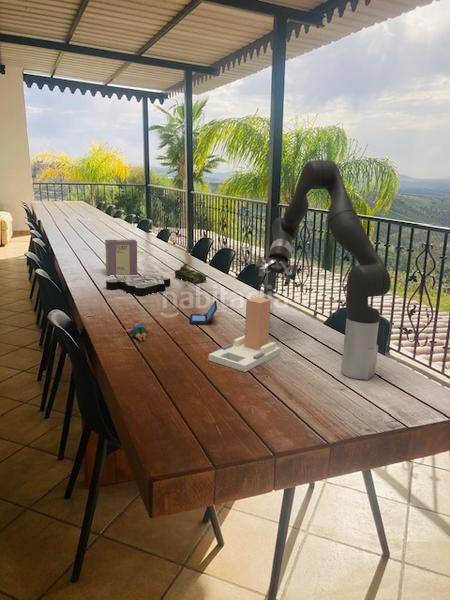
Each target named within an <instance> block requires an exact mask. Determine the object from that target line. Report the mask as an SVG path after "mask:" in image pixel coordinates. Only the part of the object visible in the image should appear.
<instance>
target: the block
mask: <svg viewBox="0 0 450 600" xmlns="http://www.w3.org/2000/svg"><path fill="white" fill-rule="evenodd" d="M271 304H272V302H271V299H268V298H263V297H258V296H255V297H252V298H249V299H246V305H245V306H246V307H245V325H244V335H245V340H244V347H247V348H251V349H254V350H260V347H262V346H264V345H266V344H268V343H269V332H270V330H269V329H270V316H271V315H270V314H271Z"/></svg>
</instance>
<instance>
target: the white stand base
mask: <svg viewBox="0 0 450 600" xmlns="http://www.w3.org/2000/svg"><path fill="white" fill-rule="evenodd" d="M244 340H245V334H244V335H242V336H240V337H237V338H235V339H233V343H228V344H226V345H222V346H221V349H217V350H216V351H213V352H210V353H209V354H208V361H210V362H213V363H215V364H220V365H222V366H226V367H228V368H230V369H234V370H237V371H241V372H244V373H246V372H248V371H250V370H252V369H253V368H255V367H257V366H259V365H261V364H263V363H265V362H268V361H269V360H271V359H273V358H274V357H277V356H278V355H280V354H281V351H282V347H280V346H276V344H277V343H276V342H274V341H271V342H268V344H266V345H264V346H262V347H260V350H254V349H251V348H247V347H244Z"/></svg>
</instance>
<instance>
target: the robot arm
mask: <svg viewBox="0 0 450 600" xmlns="http://www.w3.org/2000/svg"><path fill="white" fill-rule="evenodd" d="M294 190H295V191H294V193H293V196H292V199H291V201H290V202H289V204H288V206H287V208H286V209H285V211H284V213H283V217H280V216H279V217H277V218H275V220H274V221H273V223H272V226H271V234H272V238H273V240H272V244H271V246H270V248H269V253H268V255H267V259H263V257H262V256H259V257H258V259H257V261H256V263H255V267H254V272H255V273H258V276H257V278H258V280H259V281H260V282H262V281H263V277H264V274H268V273H270V272H271V273H276V274H279V275H281V276H282V277H283V278H285V281H284V285H283V286H284V287H287V286H288V285H289V284H290V280H292V281H295V280H296V276H297V267H298V265H297V264H295V263H294V264H293V265H290V264H289V261H290V257H291V251H292V249H291V248H292V244H293V240H295V239H296V238H297V237H298V236H299V233H300V225H301V222H302V221H303V219H304V218H305V217H306V215H307V213H308V210H309V204H310V203H309V199H308V196H307V195H308V193H309V192H310V191H311V190H325V191H327V192H328V194H329V197H330V205H329V208H328V211H327V216H326V221H327V226H328V227H329V231H330V233H331V234H332V237H333V239H334V240H335V241H336V243H337V244H339V245H340V246H341V248H343V249H344V250H345V251H346V252H348V253H349V254H350V255H351V256H352V257H354V258H355V260H356V261H357V263H358V265H354V266H353V267H352V268H351V269H350V270H349V272H348V275H347V277H346V280H347V281H346V294H345V295H346V296H345V309H346V321H345V331H344V339H343V349H342V356H341V357H342V358H341V367H340V368H341V369H340V373H341V374H342V375H343V376H346V377H348V378H351V379H356V380H365V381H369V380H370V379H371V378H372V377H374V376H375V375H376V366H377V359H378V351H379V344H377V341H378V333H379V332H378V331H379V325H380V317H381V316H380V315H381V313H380V312H381V311H379V310H378V309H377V308H374V307H371V306H369V298H370V297H371V298H373V297H374V298H375V297H382V296H385V295H386V294H388V293H389V291H390V289H391V284H392V283H391V282H392V281H391V276H390V272H389V271H388V269H387V267H386V265H385V263H384V262H383V261H382V259H381V257H380V255H379V254H378V253H377V250H376V249H375V248H374V246H373V244H372V242H371V240H370V238H369V236H368V234H367V232H366V230H365V229H364V226H363V223H362V221H361V220H360V219H361V218H359V215H358V213H357V211H356V209H355V207H354V205H353V203H352V201H351V199H350V197H349V194H348V192H347V190H346V187H345V183H344V181H343V177H342V174H341V172H340V170H339V167H338V165H337V164H336V163H335V162H334V161H332V160H327V159H325V160H323V159H322V160H318V159H317V160H310V161H307V162H306V163H305V164H304V166H303V168H302V169H301V172H300V175H299V177H298V181H297V183H296V187H295V189H294ZM289 270H290V271H289Z"/></svg>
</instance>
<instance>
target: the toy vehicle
mask: <svg viewBox="0 0 450 600" xmlns="http://www.w3.org/2000/svg"><path fill="white" fill-rule="evenodd" d="M188 264H190V262H188V263H185V264H183V265H182V266H180V268H179V269H175V271H174V277H175V278H176V279H177V278H178V279H177V280H181V279H182V280H181V281H185V282H186V281H188V282H187V283H190V282H191V284H192V283H201V282H207V277H208V276H207V275H204V274H203V273H202V272H199V271H196V270H195V269H194V270H193V269H189V268H188V267H187V266H188Z"/></svg>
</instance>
